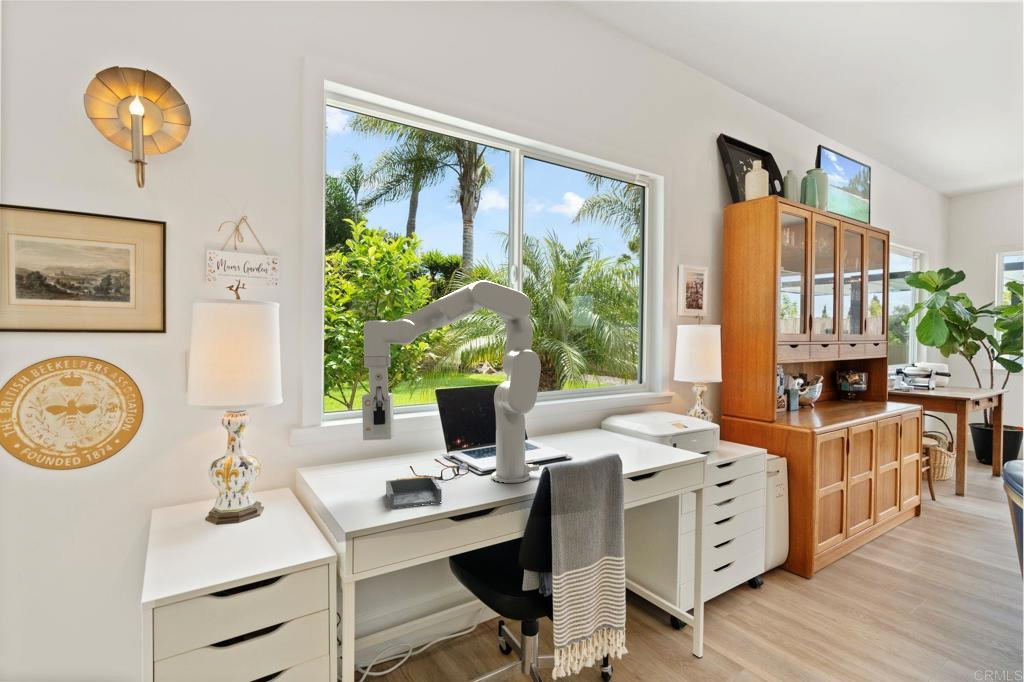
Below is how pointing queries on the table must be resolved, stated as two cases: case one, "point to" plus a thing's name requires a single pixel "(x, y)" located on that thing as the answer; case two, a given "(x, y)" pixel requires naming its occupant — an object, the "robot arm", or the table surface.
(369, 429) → the small box
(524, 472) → the robot arm
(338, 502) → the table surface
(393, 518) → the table surface
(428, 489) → the cradle
